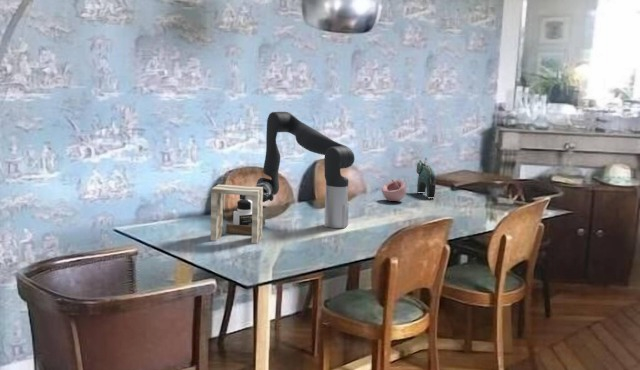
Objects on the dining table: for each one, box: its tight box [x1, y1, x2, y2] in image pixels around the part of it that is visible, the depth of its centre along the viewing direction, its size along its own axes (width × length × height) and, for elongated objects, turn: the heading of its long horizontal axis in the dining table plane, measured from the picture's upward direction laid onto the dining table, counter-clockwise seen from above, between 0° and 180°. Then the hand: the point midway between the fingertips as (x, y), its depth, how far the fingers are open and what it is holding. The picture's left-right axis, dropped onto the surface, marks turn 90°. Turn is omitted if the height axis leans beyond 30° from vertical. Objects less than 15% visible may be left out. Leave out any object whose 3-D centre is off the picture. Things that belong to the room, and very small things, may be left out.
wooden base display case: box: [225, 195, 266, 235], centre depth 279 cm, size 19×12×15 cm, turn 174°
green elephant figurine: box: [416, 157, 436, 198], centre depth 363 cm, size 20×6×20 cm, turn 10°
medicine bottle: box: [232, 199, 252, 226], centre depth 276 cm, size 7×7×12 cm
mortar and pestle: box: [381, 179, 407, 202], centre depth 345 cm, size 12×12×11 cm
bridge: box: [210, 184, 264, 244], centre depth 262 cm, size 10×18×20 cm, turn 84°
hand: (253, 199), depth 292 cm, fingers open, 8 cm apart
